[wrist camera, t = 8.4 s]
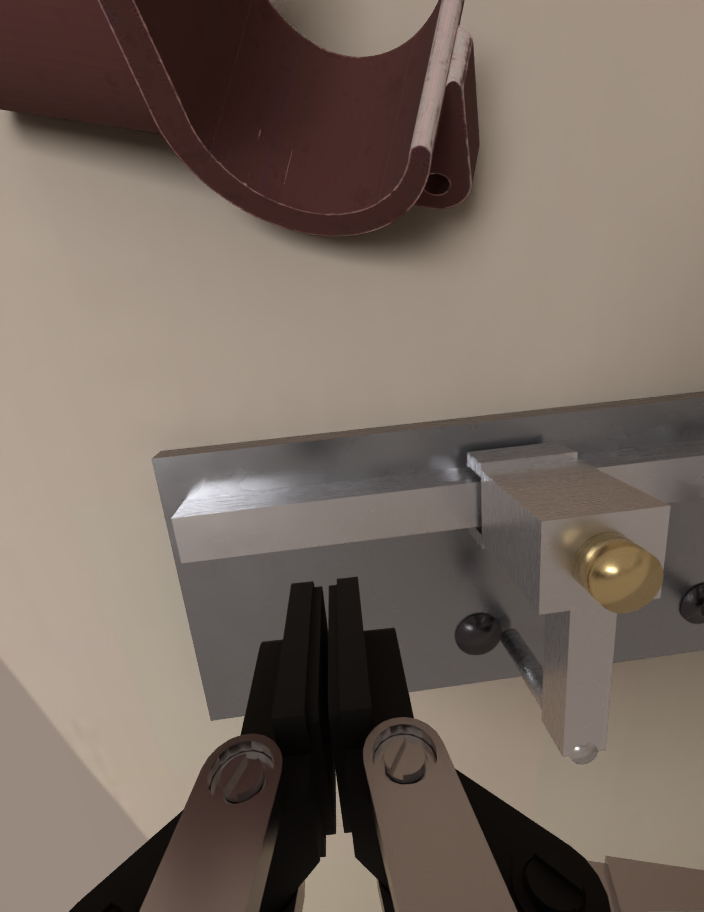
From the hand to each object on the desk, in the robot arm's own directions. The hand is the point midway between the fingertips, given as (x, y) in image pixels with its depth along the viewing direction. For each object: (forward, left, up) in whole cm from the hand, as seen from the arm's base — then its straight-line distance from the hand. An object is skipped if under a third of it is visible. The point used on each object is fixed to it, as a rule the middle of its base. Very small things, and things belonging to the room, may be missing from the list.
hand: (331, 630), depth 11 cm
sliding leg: (-8, +4, -9) cm, 13 cm away
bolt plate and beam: (-8, +4, -11) cm, 14 cm away
